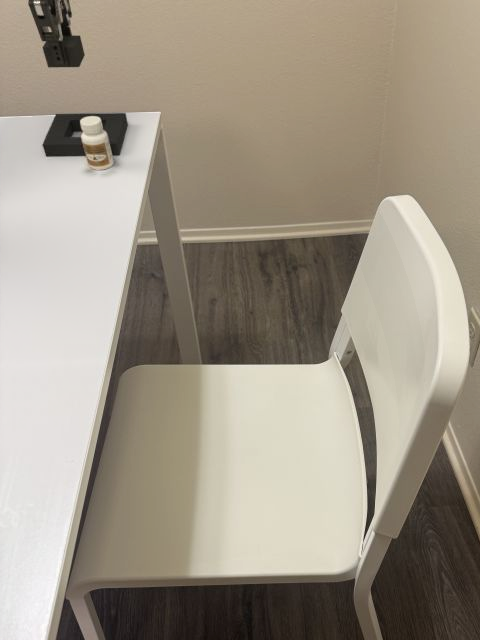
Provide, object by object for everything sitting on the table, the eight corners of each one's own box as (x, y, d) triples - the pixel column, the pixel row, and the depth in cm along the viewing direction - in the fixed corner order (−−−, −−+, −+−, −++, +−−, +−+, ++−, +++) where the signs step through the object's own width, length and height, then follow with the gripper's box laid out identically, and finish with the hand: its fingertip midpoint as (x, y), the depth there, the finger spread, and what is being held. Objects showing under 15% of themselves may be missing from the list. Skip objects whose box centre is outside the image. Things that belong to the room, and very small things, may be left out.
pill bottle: (86, 170, 105) (74, 126, 99) (91, 158, 108) (79, 114, 102) (111, 170, 105) (101, 126, 100) (116, 158, 108) (106, 114, 102)
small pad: (48, 67, 98) (42, 47, 96) (54, 55, 101) (49, 35, 99) (79, 67, 98) (74, 47, 96) (84, 55, 102) (80, 35, 99)
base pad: (45, 156, 108) (42, 144, 107) (59, 125, 116) (55, 113, 114) (119, 155, 109) (116, 143, 107) (128, 124, 117) (125, 112, 115)
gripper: (17, -82, 91) (51, 42, 104) (-9, -56, 82) (32, 77, 95) (68, -82, 91) (96, 42, 104) (47, -56, 82) (81, 77, 95)
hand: (65, 58), depth 100 cm, fingers closed on small pad, 5 cm apart
